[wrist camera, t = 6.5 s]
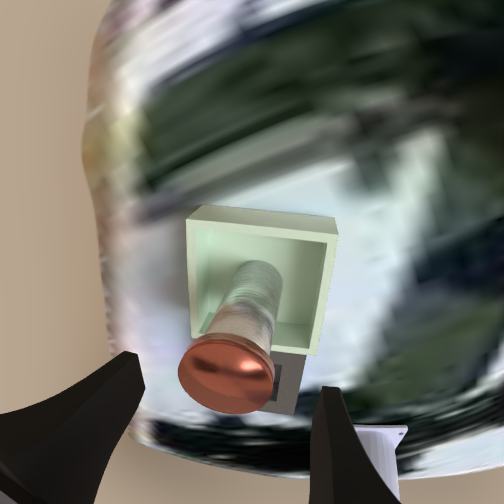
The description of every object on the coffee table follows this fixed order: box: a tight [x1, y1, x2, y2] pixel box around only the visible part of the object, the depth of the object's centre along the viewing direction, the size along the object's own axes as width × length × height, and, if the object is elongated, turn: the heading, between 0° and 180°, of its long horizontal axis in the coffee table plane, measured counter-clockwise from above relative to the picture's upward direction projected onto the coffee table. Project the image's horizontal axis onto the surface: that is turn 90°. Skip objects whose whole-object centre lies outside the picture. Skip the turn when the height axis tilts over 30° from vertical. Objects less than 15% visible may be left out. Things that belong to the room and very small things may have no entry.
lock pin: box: [178, 260, 283, 414], centre depth 17 cm, size 4×4×9 cm
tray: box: [186, 205, 338, 356], centre depth 19 cm, size 8×8×3 cm
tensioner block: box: [257, 351, 306, 415], centre depth 23 cm, size 7×7×2 cm
